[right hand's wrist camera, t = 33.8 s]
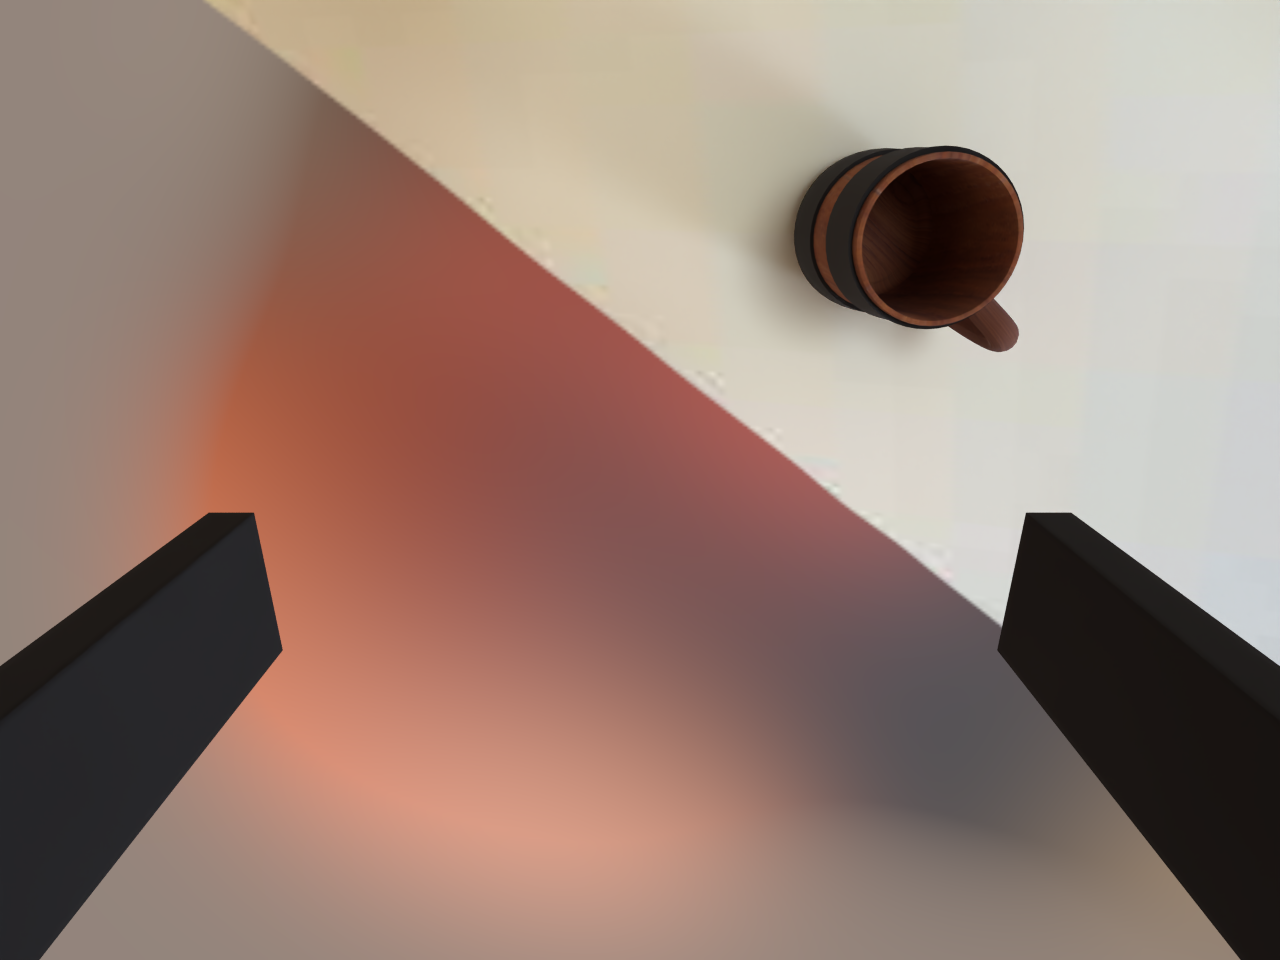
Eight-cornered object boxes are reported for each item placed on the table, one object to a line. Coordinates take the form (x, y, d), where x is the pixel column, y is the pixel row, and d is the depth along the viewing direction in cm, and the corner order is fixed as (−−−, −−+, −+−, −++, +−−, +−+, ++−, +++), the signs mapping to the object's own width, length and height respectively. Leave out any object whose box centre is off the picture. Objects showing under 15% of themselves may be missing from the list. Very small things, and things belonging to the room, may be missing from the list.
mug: (890, 371, 46) (967, 425, 35) (760, 233, 43) (801, 246, 32) (1002, 269, 44) (1121, 293, 33) (873, 115, 41) (958, 86, 30)
